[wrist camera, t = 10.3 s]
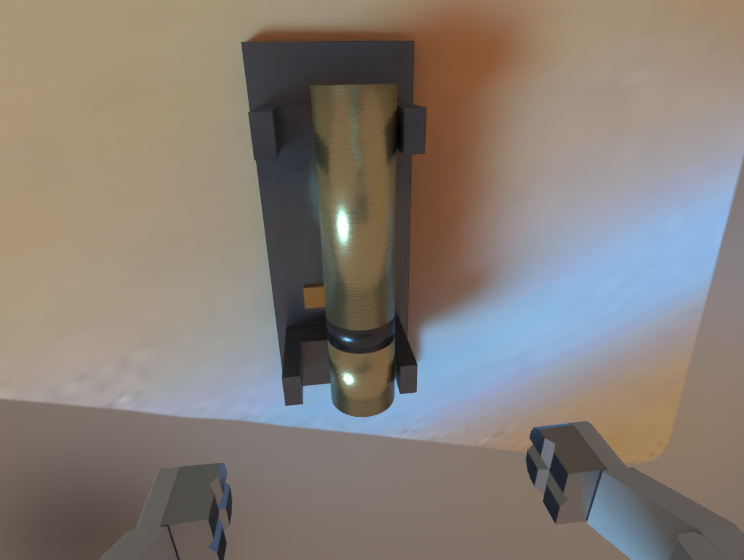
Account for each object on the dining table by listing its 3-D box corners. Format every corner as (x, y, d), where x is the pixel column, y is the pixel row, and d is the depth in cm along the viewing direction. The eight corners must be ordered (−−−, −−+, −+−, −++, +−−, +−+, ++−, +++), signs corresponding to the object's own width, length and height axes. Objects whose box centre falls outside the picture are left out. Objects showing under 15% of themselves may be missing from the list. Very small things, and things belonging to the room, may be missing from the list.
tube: (296, 85, 21) (335, 86, 18) (367, 83, 23) (414, 84, 20) (320, 388, 28) (351, 426, 25) (372, 368, 30) (407, 400, 27)
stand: (243, 43, 23) (222, 31, 17) (410, 42, 24) (443, 30, 18) (285, 379, 32) (280, 445, 27) (403, 367, 33) (424, 429, 28)
